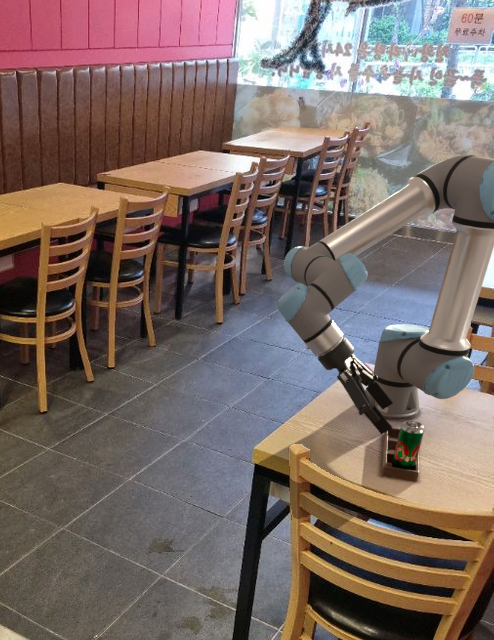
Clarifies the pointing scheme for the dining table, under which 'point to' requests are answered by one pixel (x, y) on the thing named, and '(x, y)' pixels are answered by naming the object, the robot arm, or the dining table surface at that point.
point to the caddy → (388, 459)
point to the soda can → (408, 445)
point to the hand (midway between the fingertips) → (387, 418)
